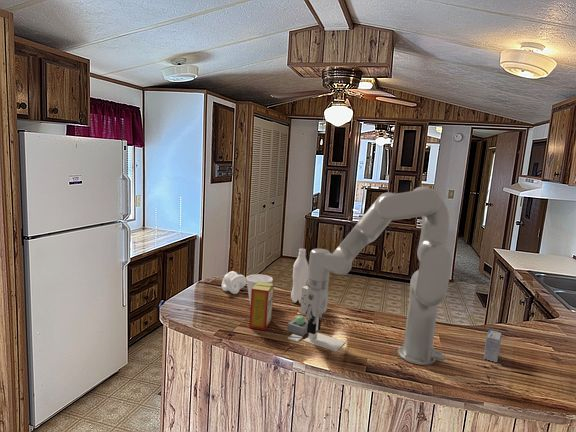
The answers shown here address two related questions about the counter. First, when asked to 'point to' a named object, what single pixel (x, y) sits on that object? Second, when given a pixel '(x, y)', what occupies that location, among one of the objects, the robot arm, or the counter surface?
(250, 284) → the cup
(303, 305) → the ink cartridge box
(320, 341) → the paper
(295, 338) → the card
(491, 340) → the medicine box
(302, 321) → the button
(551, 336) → the counter surface
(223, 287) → the white lumpy rounded part
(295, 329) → the button housing
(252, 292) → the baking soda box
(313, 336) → the marker
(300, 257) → the water bottle
